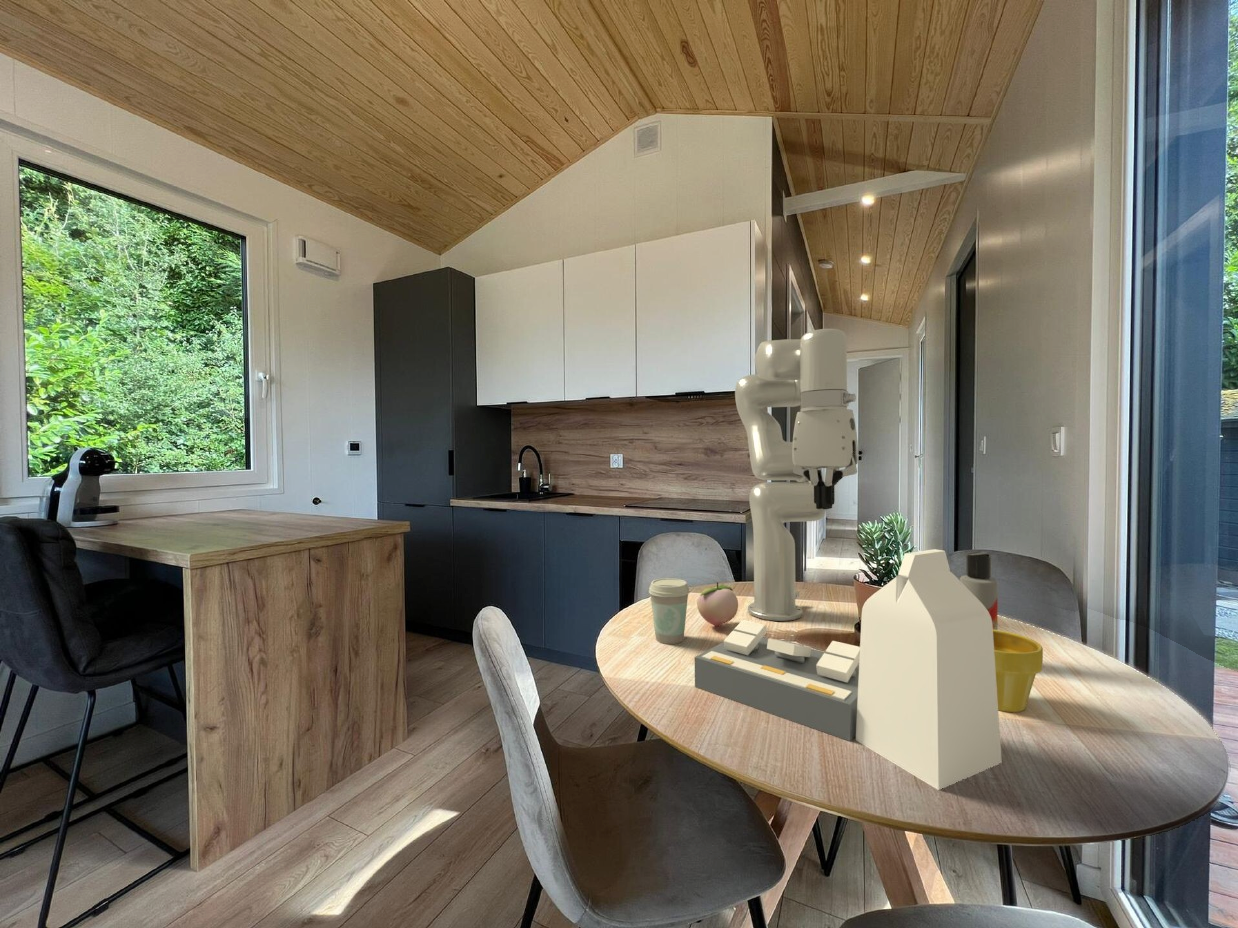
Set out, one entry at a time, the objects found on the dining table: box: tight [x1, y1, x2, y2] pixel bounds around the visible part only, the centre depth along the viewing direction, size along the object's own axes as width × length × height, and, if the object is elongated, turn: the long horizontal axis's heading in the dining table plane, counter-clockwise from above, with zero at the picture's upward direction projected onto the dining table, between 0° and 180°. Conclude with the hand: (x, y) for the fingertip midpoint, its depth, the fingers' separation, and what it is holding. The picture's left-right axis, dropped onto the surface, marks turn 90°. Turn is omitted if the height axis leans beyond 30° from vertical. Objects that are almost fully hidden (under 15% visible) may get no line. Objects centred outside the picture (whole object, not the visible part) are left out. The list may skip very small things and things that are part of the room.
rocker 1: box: [723, 619, 767, 655], centre depth 90 cm, size 7×4×2 cm, turn 138°
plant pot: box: [993, 629, 1044, 713], centre depth 80 cm, size 10×10×10 cm
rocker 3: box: [816, 640, 860, 682], centre depth 79 cm, size 7×4×2 cm, turn 138°
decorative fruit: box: [696, 581, 739, 628], centre depth 116 cm, size 9×8×10 cm
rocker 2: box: [767, 638, 813, 657], centre depth 85 cm, size 7×4×2 cm, turn 137°
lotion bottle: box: [959, 551, 999, 630], centre depth 96 cm, size 6×6×20 cm
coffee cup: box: [648, 577, 691, 645], centre depth 109 cm, size 8×9×12 cm
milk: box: [855, 548, 1003, 791], centre depth 67 cm, size 12×12×26 cm
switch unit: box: [694, 636, 859, 742], centre depth 84 cm, size 16×25×6 cm, turn 47°
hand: (824, 508), depth 90 cm, fingers closed
